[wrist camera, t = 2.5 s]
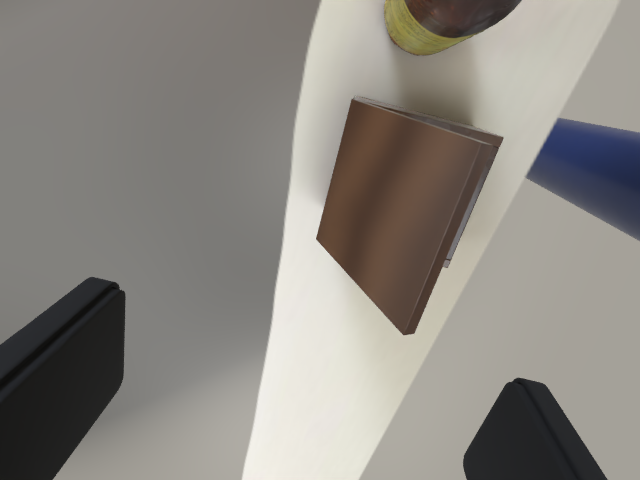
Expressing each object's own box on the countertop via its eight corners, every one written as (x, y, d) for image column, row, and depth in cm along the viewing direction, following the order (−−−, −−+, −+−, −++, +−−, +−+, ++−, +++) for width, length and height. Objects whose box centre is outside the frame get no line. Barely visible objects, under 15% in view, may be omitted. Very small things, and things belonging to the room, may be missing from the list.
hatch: (494, 145, 16) (481, 142, 16) (414, 334, 20) (403, 335, 20) (361, 100, 25) (351, 98, 24) (324, 239, 29) (315, 239, 29)
